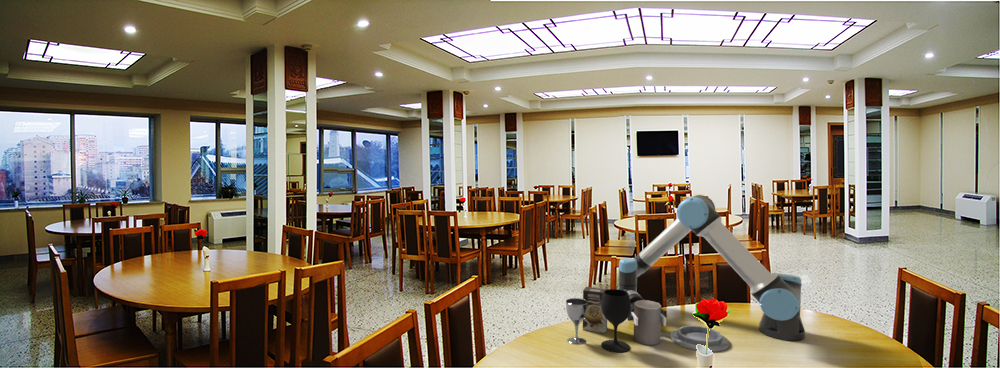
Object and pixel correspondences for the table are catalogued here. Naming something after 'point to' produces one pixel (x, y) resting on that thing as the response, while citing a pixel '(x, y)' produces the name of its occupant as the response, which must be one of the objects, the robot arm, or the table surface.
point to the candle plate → (699, 338)
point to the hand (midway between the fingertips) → (651, 321)
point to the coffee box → (594, 310)
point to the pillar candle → (647, 322)
